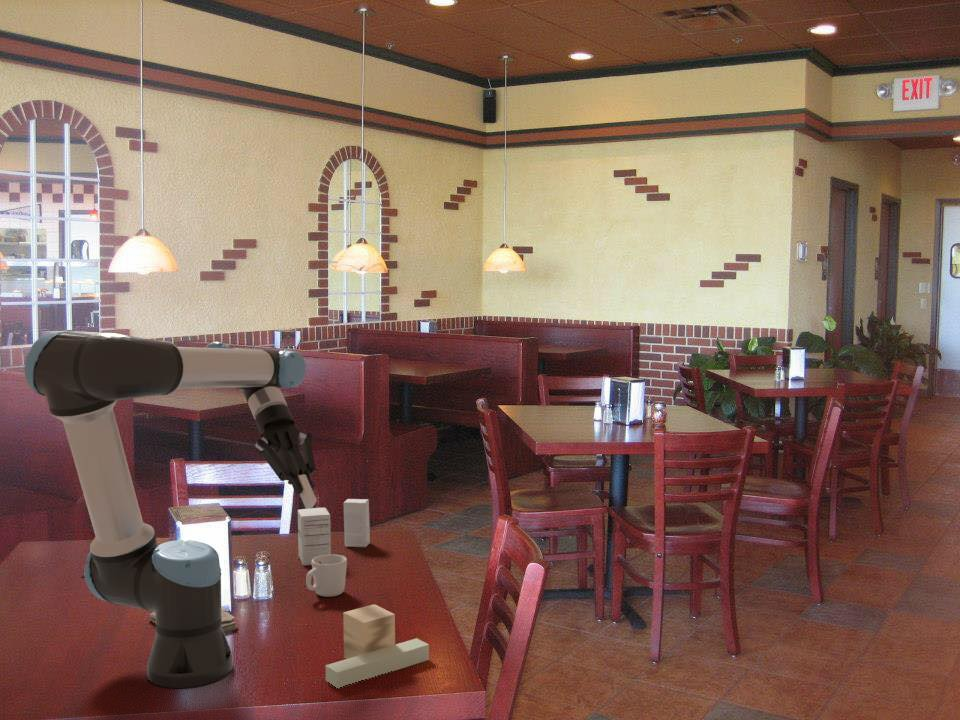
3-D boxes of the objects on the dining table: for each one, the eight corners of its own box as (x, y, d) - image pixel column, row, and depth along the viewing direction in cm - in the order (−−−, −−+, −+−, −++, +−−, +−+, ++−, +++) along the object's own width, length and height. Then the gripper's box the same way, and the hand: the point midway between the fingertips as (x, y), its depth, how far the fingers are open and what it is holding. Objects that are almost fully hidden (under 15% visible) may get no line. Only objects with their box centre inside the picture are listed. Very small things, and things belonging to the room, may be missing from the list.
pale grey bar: (337, 688, 174) (336, 672, 174) (325, 681, 177) (325, 665, 177) (428, 659, 187) (428, 644, 186) (416, 653, 190) (416, 638, 190)
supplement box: (298, 557, 251) (297, 508, 249) (327, 554, 253) (326, 506, 251) (301, 566, 244) (300, 516, 242) (331, 563, 246) (330, 513, 244)
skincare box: (370, 543, 263) (369, 499, 262) (366, 547, 259) (365, 503, 258) (348, 542, 264) (347, 498, 263) (343, 546, 260) (343, 502, 258)
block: (363, 669, 182) (363, 623, 181) (344, 658, 188) (343, 612, 187) (395, 660, 187) (394, 614, 186) (374, 648, 192) (374, 604, 191)
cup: (320, 605, 216) (319, 570, 215) (295, 598, 221) (294, 563, 220) (354, 592, 224) (354, 558, 224) (330, 585, 229) (329, 551, 228)
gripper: (293, 420, 217) (333, 509, 206) (237, 427, 209) (276, 520, 198) (304, 399, 213) (345, 489, 201) (248, 405, 204) (288, 499, 193)
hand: (311, 504), depth 200 cm, fingers closed
